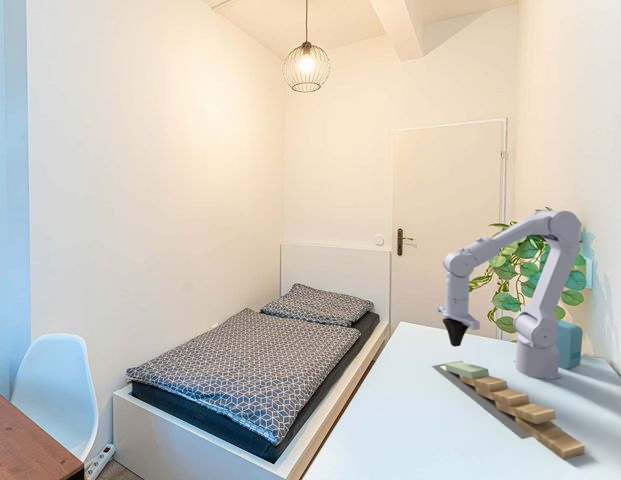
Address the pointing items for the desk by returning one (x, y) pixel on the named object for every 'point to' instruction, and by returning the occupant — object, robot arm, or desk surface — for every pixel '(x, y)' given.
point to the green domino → (467, 370)
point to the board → (483, 401)
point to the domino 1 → (485, 383)
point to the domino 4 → (552, 438)
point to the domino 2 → (505, 396)
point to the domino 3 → (528, 412)
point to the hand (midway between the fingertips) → (455, 345)
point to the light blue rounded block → (569, 344)
